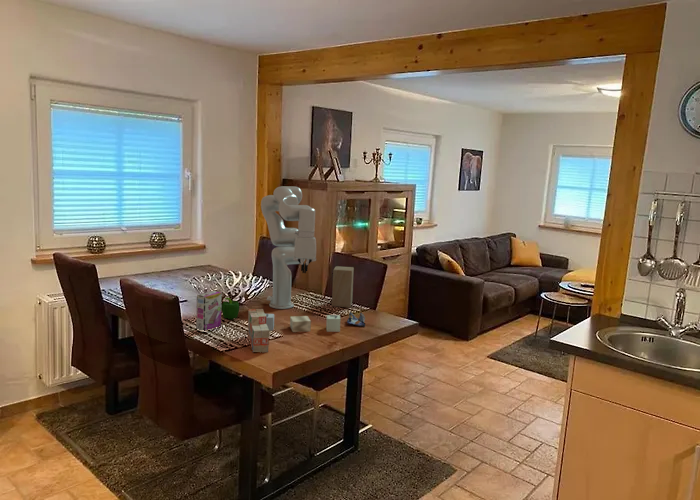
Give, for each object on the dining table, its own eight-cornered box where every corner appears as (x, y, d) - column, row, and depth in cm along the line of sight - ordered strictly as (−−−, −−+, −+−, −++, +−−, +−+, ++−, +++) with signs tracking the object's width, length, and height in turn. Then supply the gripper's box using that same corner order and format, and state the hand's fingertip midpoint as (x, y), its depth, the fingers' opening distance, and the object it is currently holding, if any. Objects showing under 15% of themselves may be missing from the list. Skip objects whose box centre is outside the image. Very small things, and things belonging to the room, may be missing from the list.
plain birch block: (292, 332, 241) (293, 321, 240) (290, 327, 249) (290, 316, 248) (310, 331, 243) (310, 321, 242) (307, 326, 251) (307, 316, 250)
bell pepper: (243, 317, 259) (243, 297, 258) (232, 321, 252) (232, 300, 250) (228, 314, 263) (229, 294, 261) (218, 318, 255) (218, 298, 254)
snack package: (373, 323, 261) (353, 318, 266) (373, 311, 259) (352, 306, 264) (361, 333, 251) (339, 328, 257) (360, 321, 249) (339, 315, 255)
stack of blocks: (268, 352, 214) (269, 322, 212) (252, 353, 213) (253, 323, 211) (262, 335, 235) (262, 308, 233) (247, 336, 233) (248, 308, 231)
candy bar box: (204, 333, 233) (204, 296, 230) (195, 331, 235) (195, 295, 233) (222, 327, 243) (222, 291, 240) (213, 325, 245) (213, 290, 243)
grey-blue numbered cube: (259, 330, 241) (259, 316, 240) (260, 326, 247) (260, 313, 246) (273, 330, 242) (273, 317, 241) (273, 326, 248) (274, 313, 247)
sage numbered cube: (326, 331, 244) (327, 318, 243) (326, 327, 250) (326, 314, 249) (340, 331, 244) (340, 318, 243) (339, 327, 250) (339, 314, 249)
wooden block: (352, 303, 295) (353, 267, 292) (350, 307, 285) (352, 270, 282) (334, 301, 296) (335, 265, 293) (331, 306, 286) (333, 269, 283)
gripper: (289, 234, 246) (287, 273, 250) (322, 236, 247) (320, 275, 251) (290, 232, 254) (288, 269, 257) (322, 233, 255) (320, 271, 258)
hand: (304, 272), depth 254 cm, fingers closed
